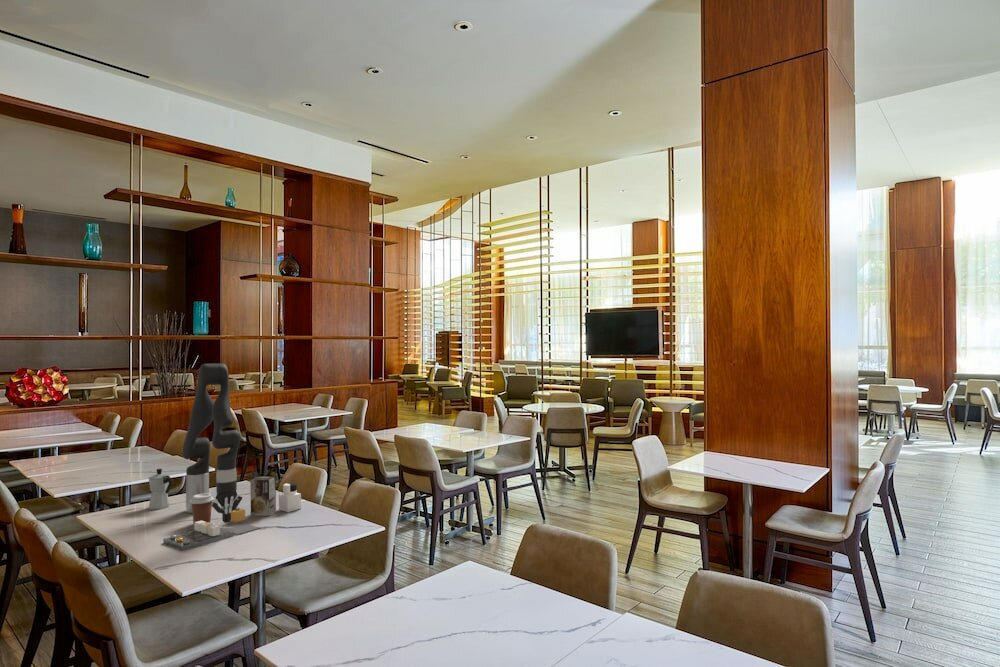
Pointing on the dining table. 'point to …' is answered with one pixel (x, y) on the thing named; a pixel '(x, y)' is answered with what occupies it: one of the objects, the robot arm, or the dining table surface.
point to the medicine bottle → (289, 498)
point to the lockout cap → (237, 516)
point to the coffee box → (263, 496)
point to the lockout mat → (243, 529)
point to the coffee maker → (159, 490)
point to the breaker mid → (205, 527)
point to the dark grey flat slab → (195, 539)
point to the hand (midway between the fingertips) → (226, 522)
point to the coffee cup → (201, 507)
